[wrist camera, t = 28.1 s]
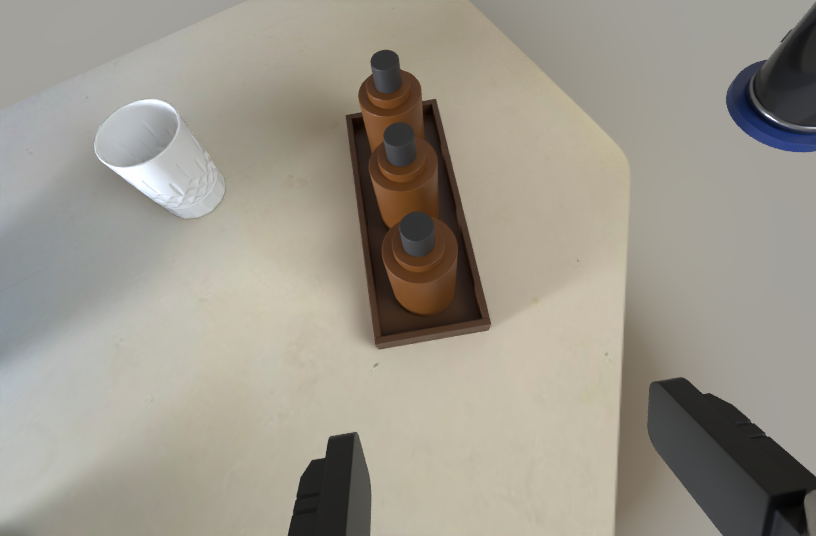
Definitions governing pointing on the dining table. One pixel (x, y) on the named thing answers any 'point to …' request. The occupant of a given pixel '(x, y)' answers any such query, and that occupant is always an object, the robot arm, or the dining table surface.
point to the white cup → (160, 157)
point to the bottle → (421, 263)
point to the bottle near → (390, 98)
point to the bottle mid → (404, 175)
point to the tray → (387, 314)
